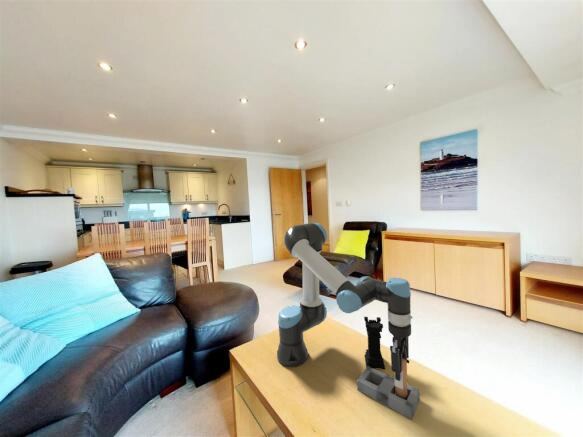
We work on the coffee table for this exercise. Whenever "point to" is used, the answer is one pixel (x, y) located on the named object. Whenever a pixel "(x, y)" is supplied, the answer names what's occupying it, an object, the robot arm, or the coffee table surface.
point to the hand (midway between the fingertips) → (401, 382)
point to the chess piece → (374, 344)
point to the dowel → (403, 392)
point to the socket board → (388, 391)
